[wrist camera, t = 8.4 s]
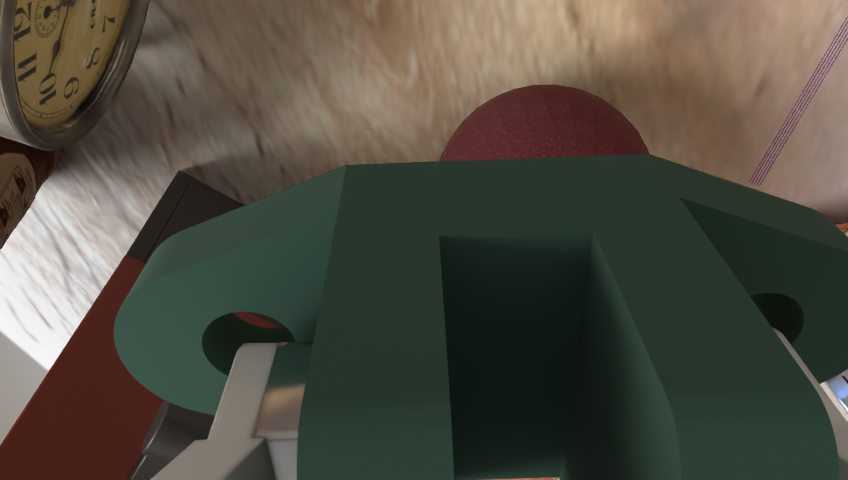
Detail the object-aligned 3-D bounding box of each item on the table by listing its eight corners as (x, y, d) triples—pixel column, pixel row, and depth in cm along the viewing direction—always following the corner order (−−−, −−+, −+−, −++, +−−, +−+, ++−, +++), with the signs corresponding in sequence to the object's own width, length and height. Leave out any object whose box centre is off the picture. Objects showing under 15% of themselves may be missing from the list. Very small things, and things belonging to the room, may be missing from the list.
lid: (387, 666, 18) (477, 556, 17) (-59, 538, 14) (26, 385, 13) (350, 377, 31) (400, 306, 30) (117, 269, 27) (166, 183, 26)
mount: (891, 144, 9) (1324, 435, 5) (798, 376, 11) (1027, 702, 7) (103, 173, 9) (-170, 488, 5) (181, 397, 11) (46, 736, 7)
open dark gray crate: (257, 400, 44) (231, 502, 37) (89, 329, 40) (28, 430, 33) (364, 269, 38) (355, 364, 31) (178, 169, 34) (125, 255, 27)
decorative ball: (397, 185, 35) (395, 303, 26) (492, 17, 30) (525, 97, 21) (551, 252, 37) (592, 378, 29) (660, 108, 32) (748, 211, 24)
